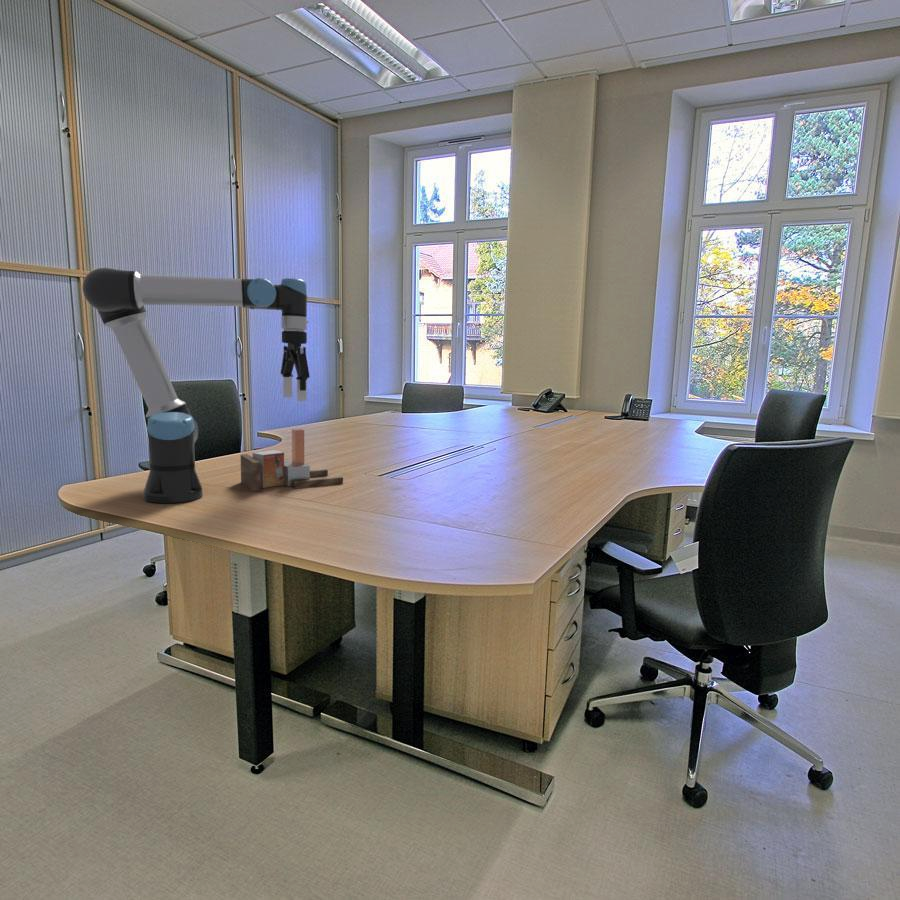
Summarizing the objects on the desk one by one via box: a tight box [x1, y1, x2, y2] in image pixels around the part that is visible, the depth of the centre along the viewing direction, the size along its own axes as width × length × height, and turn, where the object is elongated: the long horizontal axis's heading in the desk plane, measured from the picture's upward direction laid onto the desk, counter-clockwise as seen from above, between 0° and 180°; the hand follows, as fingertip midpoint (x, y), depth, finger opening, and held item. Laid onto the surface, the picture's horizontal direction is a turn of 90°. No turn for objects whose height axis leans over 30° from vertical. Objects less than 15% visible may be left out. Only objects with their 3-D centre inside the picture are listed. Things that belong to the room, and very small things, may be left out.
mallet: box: [284, 428, 311, 487], centre depth 192 cm, size 7×10×17 cm
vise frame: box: [240, 453, 344, 493], centre depth 192 cm, size 28×15×9 cm, turn 123°
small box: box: [252, 449, 285, 489], centre depth 188 cm, size 8×6×10 cm
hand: (294, 399), depth 189 cm, fingers open, 13 cm apart
